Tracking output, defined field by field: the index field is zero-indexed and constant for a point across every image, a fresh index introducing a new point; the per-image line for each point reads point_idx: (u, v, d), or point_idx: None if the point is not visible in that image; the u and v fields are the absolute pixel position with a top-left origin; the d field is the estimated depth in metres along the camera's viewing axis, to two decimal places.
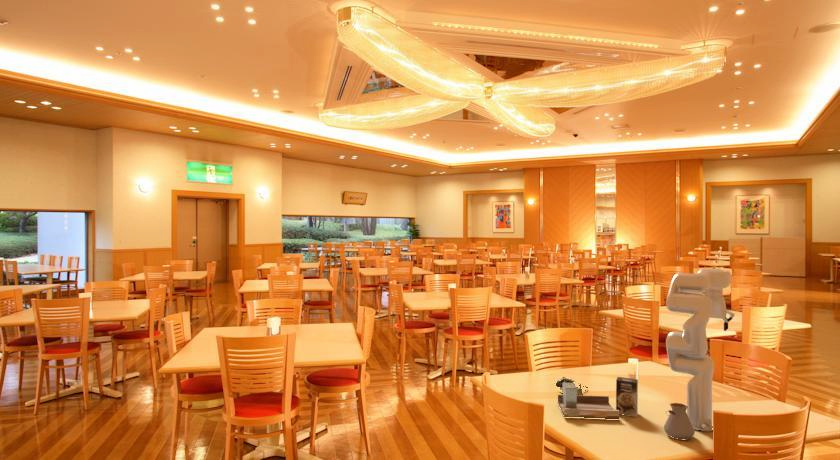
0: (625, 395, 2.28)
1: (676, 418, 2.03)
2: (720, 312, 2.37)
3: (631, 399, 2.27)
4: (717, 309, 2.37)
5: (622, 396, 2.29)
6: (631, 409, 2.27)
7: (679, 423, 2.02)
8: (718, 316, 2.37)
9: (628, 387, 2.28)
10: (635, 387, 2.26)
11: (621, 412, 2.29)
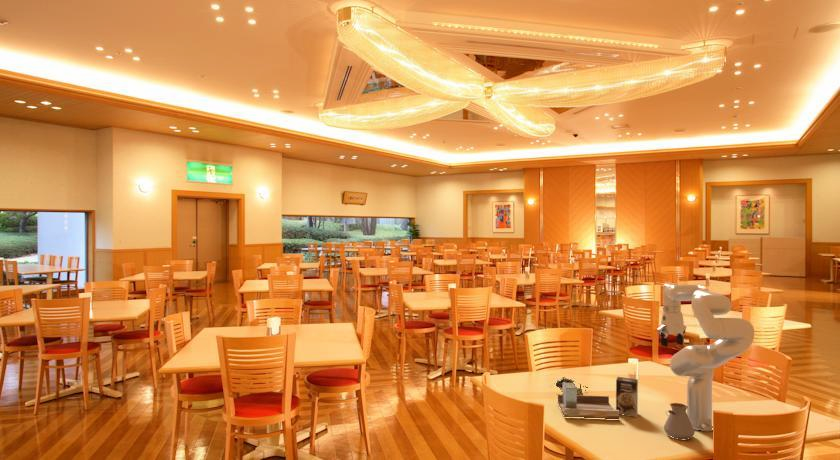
0: (625, 395, 2.28)
1: (676, 418, 2.03)
2: (682, 327, 2.35)
3: (631, 399, 2.27)
4: (680, 324, 2.34)
5: (622, 396, 2.29)
6: (631, 409, 2.27)
7: (679, 423, 2.02)
8: (680, 331, 2.34)
9: (628, 387, 2.28)
10: (635, 387, 2.26)
11: (621, 412, 2.29)
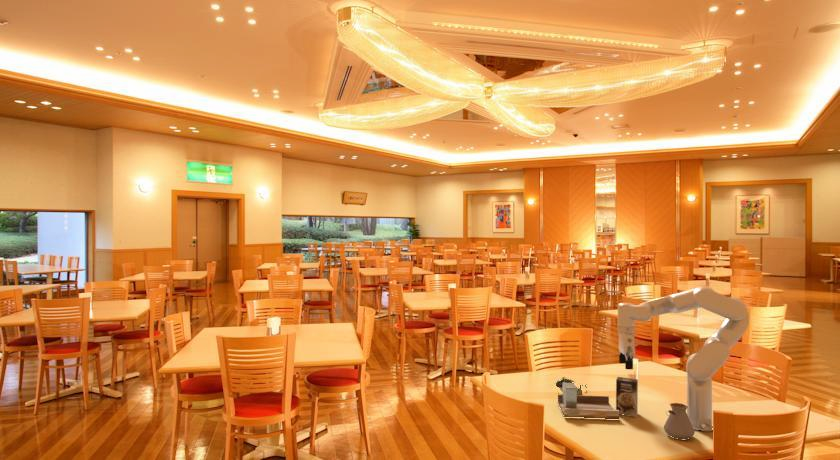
0: (625, 395, 2.28)
1: (676, 418, 2.03)
2: None
3: (631, 399, 2.27)
4: None
5: (622, 396, 2.29)
6: (631, 409, 2.27)
7: (679, 423, 2.02)
8: None
9: (628, 387, 2.28)
10: (635, 387, 2.26)
11: (621, 412, 2.29)
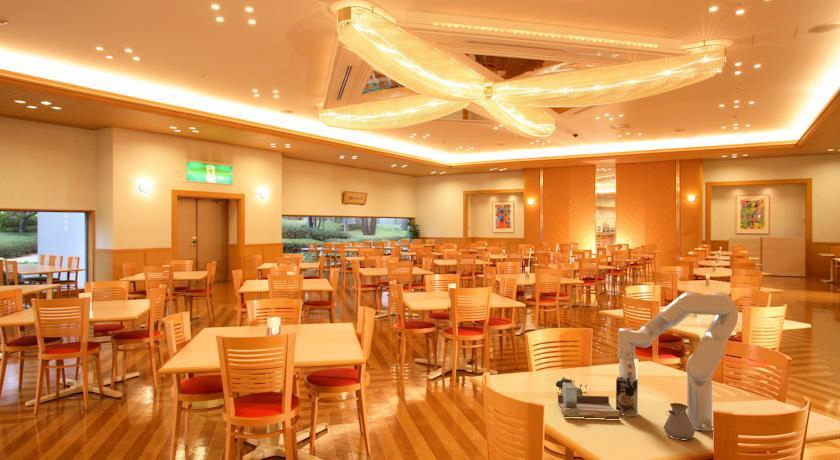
0: (625, 395, 2.28)
1: (676, 418, 2.03)
2: None
3: (631, 399, 2.27)
4: None
5: (622, 396, 2.29)
6: (631, 409, 2.27)
7: (679, 423, 2.02)
8: None
9: None
10: (635, 387, 2.26)
11: (621, 412, 2.29)
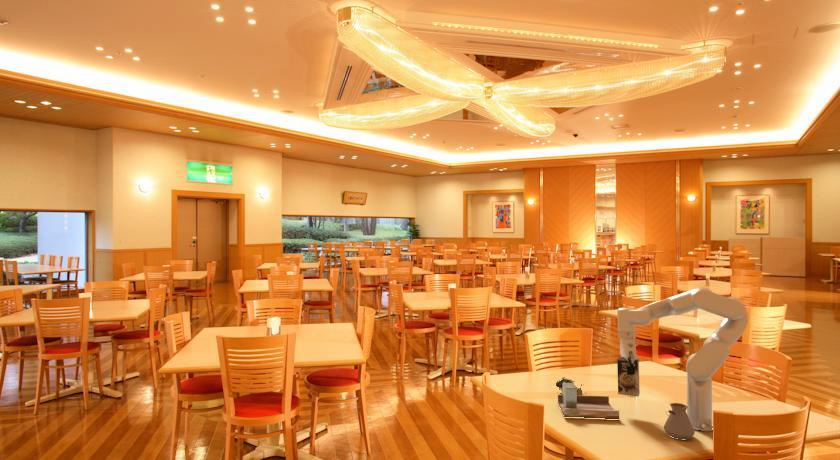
0: (626, 375, 2.28)
1: (676, 418, 2.03)
2: None
3: (633, 378, 2.27)
4: None
5: (624, 376, 2.28)
6: (633, 388, 2.27)
7: (679, 423, 2.02)
8: None
9: None
10: (636, 366, 2.26)
11: (623, 392, 2.29)
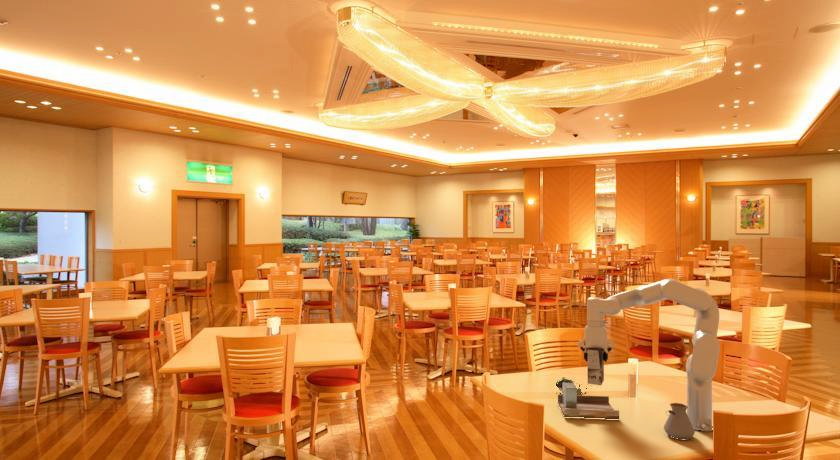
0: (602, 363, 2.31)
1: (676, 418, 2.03)
2: None
3: (603, 364, 2.33)
4: None
5: (602, 365, 2.30)
6: (603, 374, 2.33)
7: (679, 423, 2.02)
8: None
9: None
10: (603, 351, 2.35)
11: (602, 381, 2.29)
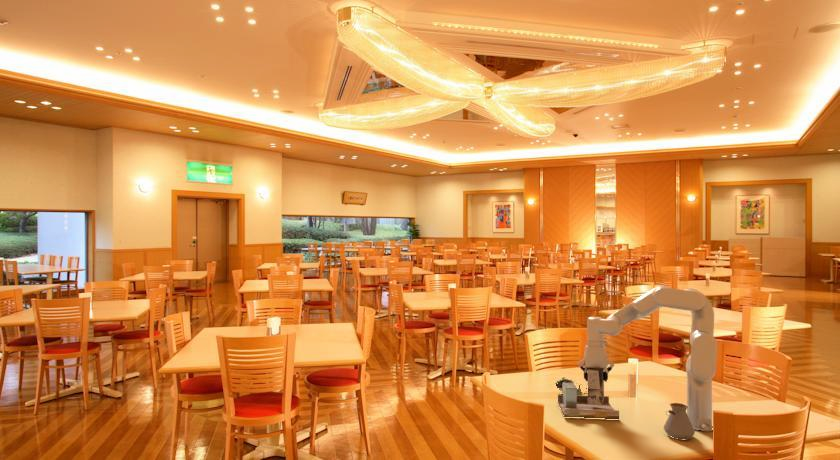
0: (602, 383, 2.31)
1: (676, 418, 2.03)
2: None
3: (603, 384, 2.33)
4: None
5: (602, 385, 2.30)
6: (603, 394, 2.33)
7: (679, 423, 2.02)
8: None
9: (603, 373, 2.32)
10: (603, 371, 2.35)
11: (602, 401, 2.29)
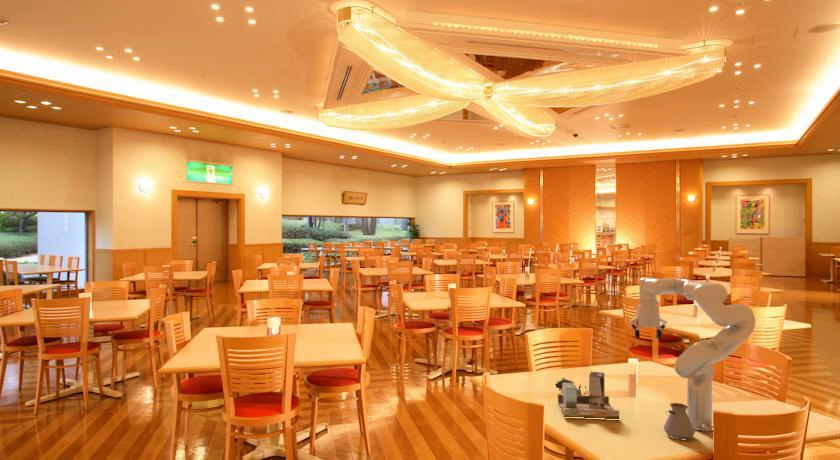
0: None
1: (676, 418, 2.03)
2: None
3: (604, 390, 2.33)
4: None
5: (603, 391, 2.30)
6: (604, 400, 2.33)
7: (679, 423, 2.02)
8: None
9: None
10: None
11: (603, 408, 2.29)
